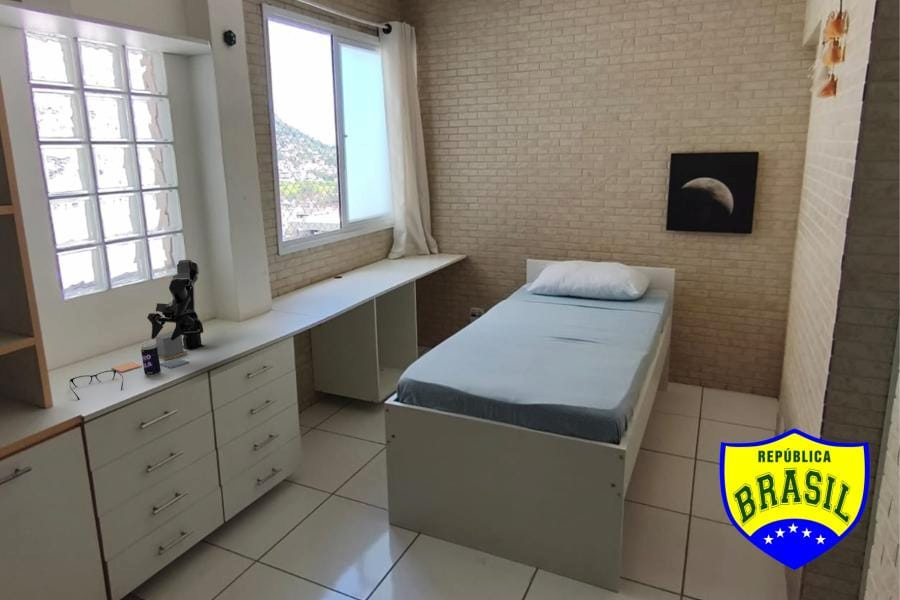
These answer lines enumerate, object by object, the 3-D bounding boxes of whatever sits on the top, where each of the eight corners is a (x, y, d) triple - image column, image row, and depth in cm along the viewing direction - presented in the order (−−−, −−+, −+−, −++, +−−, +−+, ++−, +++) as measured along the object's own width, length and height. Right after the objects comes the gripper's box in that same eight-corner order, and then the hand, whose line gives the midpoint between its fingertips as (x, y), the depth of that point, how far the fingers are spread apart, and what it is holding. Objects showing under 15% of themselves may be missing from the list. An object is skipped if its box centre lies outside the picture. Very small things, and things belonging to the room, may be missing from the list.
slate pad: (178, 359, 248) (177, 358, 248) (189, 363, 244) (189, 361, 244) (159, 365, 242) (159, 363, 242) (170, 368, 237) (170, 367, 237)
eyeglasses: (119, 378, 230) (118, 368, 229) (127, 390, 217) (125, 380, 216) (69, 388, 220) (67, 378, 219) (73, 402, 208) (71, 391, 207)
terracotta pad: (131, 363, 245) (131, 361, 245) (141, 366, 240) (141, 365, 240) (111, 369, 239) (111, 367, 238) (121, 372, 234) (121, 371, 234)
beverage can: (145, 372, 234) (141, 343, 231) (161, 370, 235) (157, 341, 233) (144, 377, 228) (139, 347, 226) (160, 375, 230) (156, 345, 227)
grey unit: (177, 350, 259) (174, 330, 257) (187, 354, 255) (184, 333, 253) (154, 357, 251) (151, 336, 249) (164, 360, 247) (161, 339, 245)
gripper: (147, 293, 239) (129, 327, 231) (186, 295, 233) (168, 331, 226) (164, 307, 248) (147, 341, 240) (202, 310, 243) (186, 344, 235)
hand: (162, 339), depth 235 cm, fingers open, 9 cm apart
